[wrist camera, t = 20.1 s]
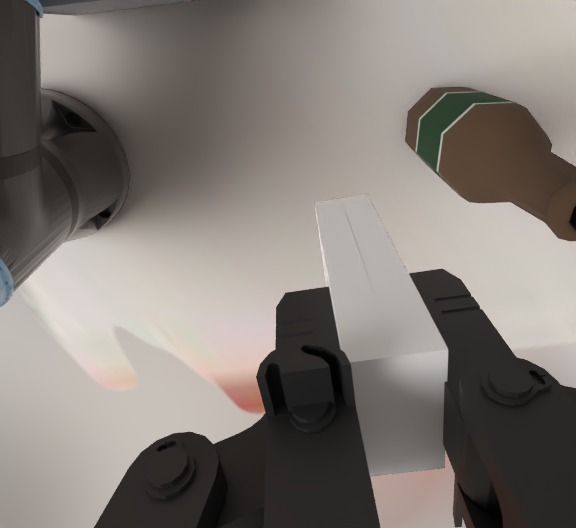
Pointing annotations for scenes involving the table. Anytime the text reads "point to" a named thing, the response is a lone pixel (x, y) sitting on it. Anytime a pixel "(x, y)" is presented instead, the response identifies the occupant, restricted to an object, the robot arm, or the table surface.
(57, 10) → the cradle
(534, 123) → the beer bottle
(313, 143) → the table surface
